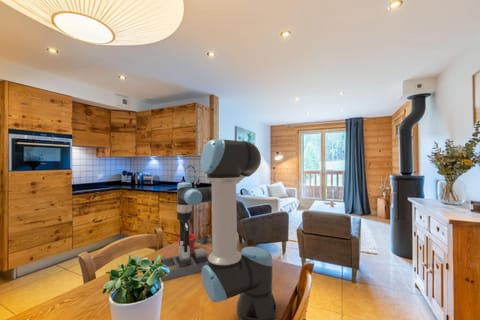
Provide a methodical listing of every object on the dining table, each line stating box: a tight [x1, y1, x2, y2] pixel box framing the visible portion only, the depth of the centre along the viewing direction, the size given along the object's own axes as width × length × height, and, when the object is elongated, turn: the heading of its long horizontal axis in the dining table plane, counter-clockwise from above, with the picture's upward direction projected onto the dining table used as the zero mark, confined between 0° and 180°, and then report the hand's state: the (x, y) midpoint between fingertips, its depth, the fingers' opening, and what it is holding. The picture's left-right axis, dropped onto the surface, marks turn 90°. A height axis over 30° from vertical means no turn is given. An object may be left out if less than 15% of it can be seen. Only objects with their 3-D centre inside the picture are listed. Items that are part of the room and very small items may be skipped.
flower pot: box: [177, 233, 197, 253], centre depth 131 cm, size 11×11×10 cm
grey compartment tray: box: [160, 252, 209, 282], centre depth 111 cm, size 15×27×4 cm, turn 116°
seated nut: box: [193, 247, 207, 264], centre depth 115 cm, size 5×5×8 cm
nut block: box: [177, 245, 190, 267], centre depth 111 cm, size 5×5×8 cm
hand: (184, 255), depth 111 cm, fingers closed on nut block, 5 cm apart
